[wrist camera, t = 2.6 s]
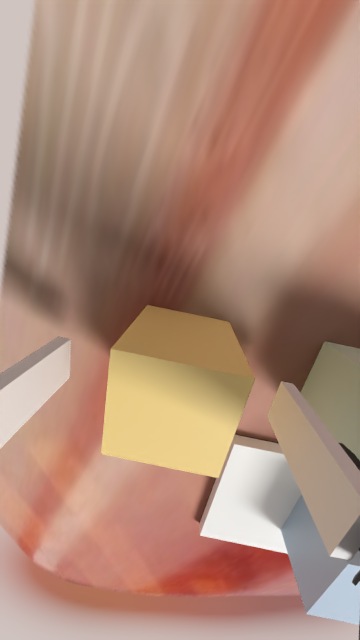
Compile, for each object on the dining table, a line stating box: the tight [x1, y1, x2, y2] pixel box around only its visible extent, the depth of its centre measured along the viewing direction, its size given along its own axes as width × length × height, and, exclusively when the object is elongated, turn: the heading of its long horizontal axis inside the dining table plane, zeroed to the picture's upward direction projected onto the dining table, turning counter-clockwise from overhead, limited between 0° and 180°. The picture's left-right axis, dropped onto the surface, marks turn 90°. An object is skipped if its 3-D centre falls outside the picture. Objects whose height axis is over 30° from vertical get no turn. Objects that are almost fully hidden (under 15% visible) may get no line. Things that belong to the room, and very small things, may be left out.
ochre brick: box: [101, 305, 255, 478], centre depth 13 cm, size 6×6×7 cm
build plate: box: [200, 435, 360, 625], centre depth 18 cm, size 13×20×6 cm, turn 79°
